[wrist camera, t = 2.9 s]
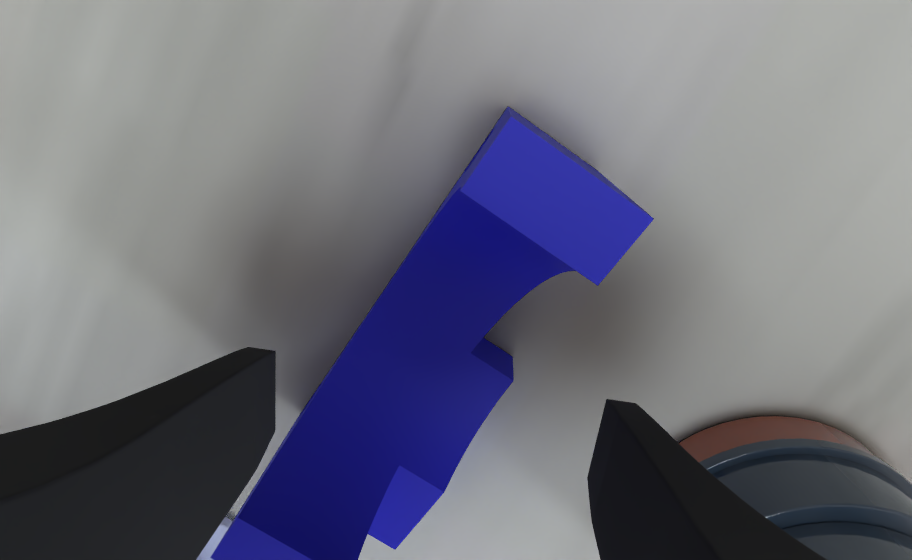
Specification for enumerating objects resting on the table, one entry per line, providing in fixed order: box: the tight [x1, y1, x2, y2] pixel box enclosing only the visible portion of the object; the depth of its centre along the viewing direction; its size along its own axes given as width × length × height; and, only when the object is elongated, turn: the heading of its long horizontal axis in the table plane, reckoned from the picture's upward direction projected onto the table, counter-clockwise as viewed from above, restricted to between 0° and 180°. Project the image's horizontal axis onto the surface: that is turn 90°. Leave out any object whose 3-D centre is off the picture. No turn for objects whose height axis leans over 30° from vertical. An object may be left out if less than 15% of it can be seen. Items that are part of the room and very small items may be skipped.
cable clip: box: [210, 107, 654, 560], centre depth 14 cm, size 12×4×6 cm, turn 146°
